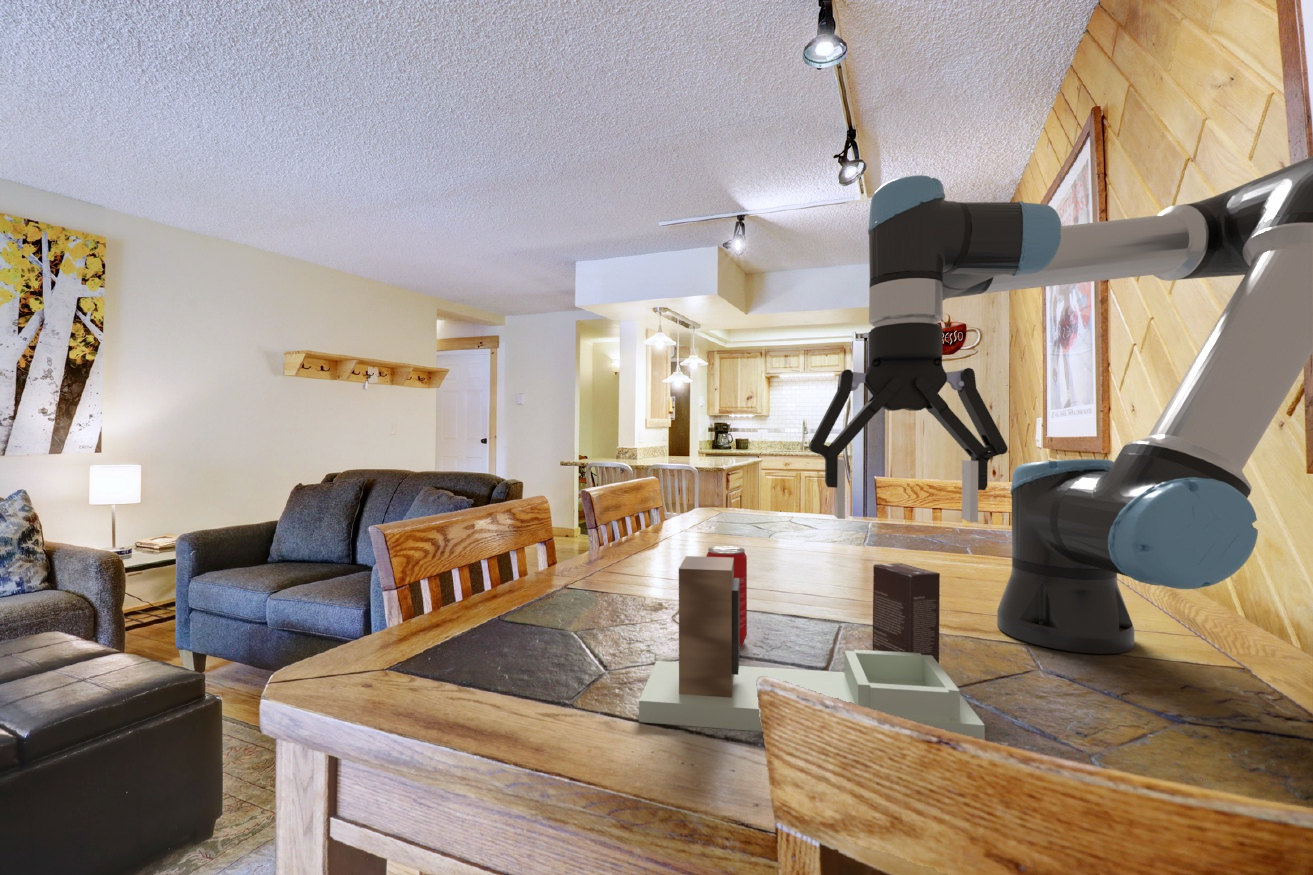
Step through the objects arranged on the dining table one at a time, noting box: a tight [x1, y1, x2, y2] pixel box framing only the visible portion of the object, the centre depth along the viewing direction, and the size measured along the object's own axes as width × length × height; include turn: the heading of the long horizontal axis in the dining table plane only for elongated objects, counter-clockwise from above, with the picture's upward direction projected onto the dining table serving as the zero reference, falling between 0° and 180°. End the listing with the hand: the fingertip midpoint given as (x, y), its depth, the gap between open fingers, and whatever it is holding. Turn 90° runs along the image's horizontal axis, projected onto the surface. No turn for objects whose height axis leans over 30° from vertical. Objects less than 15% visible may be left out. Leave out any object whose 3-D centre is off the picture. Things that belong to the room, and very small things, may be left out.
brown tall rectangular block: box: [678, 555, 741, 698], centre depth 60 cm, size 6×6×12 cm
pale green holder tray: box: [638, 649, 986, 741], centre depth 59 cm, size 30×10×4 cm, turn 81°
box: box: [871, 562, 941, 665], centre depth 67 cm, size 6×4×12 cm
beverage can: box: [705, 545, 748, 647], centre depth 78 cm, size 5×5×12 cm
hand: (903, 519), depth 67 cm, fingers open, 13 cm apart
